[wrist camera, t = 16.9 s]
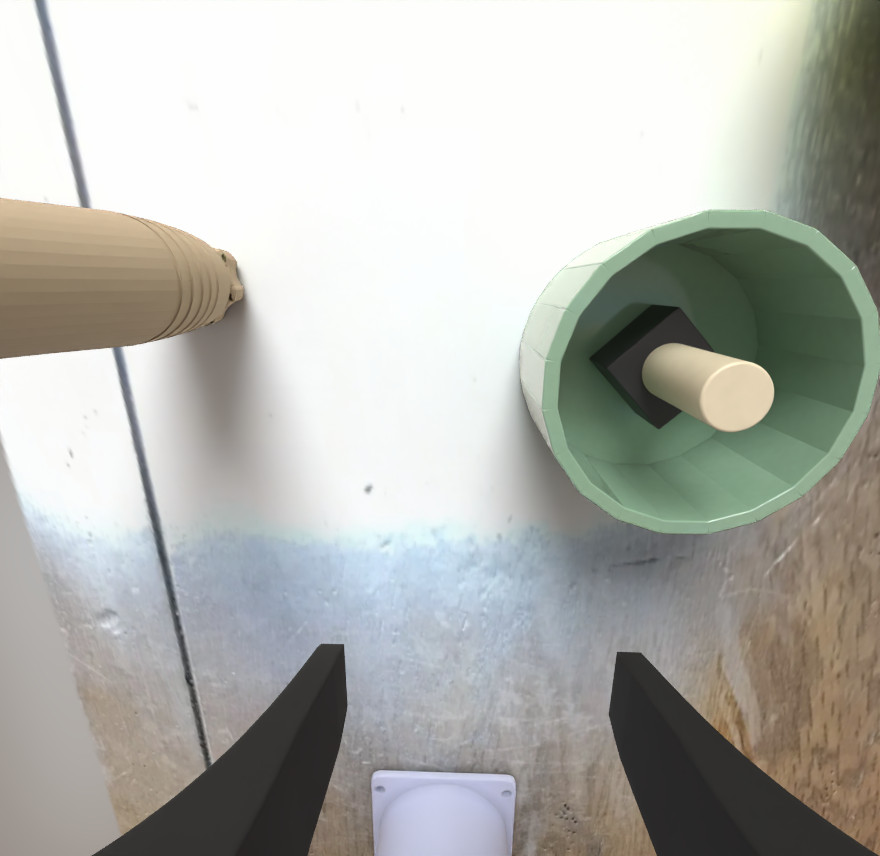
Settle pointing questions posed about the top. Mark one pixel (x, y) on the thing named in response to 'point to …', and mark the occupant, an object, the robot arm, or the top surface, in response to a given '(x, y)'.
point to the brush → (682, 374)
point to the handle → (103, 280)
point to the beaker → (728, 333)
